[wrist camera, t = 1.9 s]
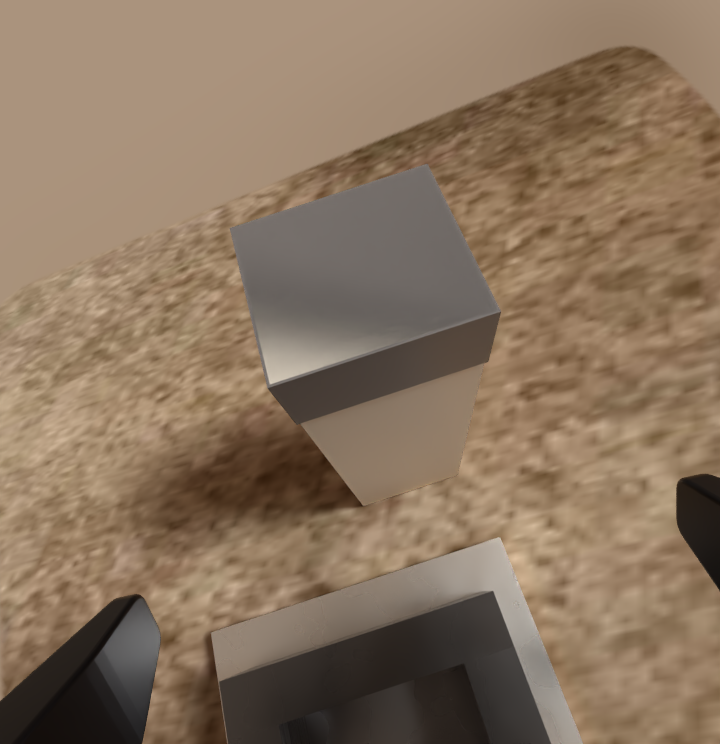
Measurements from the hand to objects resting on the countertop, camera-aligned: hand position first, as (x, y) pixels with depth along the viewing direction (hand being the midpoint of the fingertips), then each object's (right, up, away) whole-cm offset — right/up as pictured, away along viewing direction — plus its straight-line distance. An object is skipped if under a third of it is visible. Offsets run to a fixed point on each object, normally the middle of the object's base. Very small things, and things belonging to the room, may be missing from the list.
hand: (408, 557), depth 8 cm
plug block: (+1, 0, +13) cm, 13 cm away
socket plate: (+1, -10, +8) cm, 13 cm away
